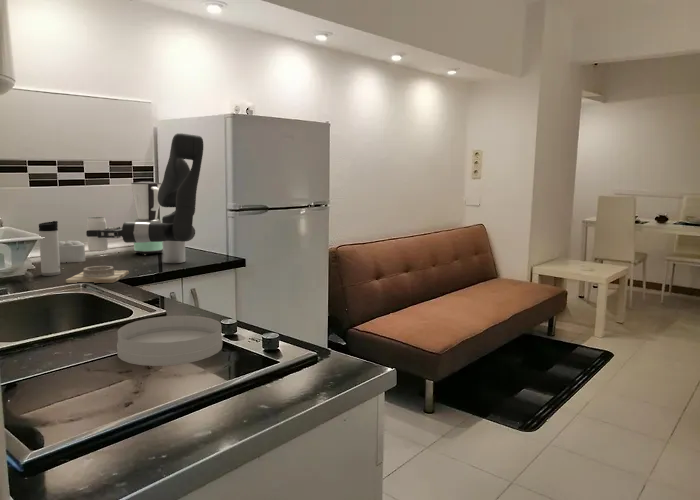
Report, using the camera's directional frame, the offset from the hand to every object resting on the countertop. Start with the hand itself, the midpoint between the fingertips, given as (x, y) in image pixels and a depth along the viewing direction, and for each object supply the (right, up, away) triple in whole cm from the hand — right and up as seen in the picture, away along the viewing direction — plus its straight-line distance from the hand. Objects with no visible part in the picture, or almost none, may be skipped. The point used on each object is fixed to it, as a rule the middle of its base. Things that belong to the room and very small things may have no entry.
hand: (90, 232), depth 196 cm
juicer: (-3, -8, +65) cm, 65 cm away
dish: (+55, -29, -76) cm, 98 cm away
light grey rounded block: (-29, -11, +41) cm, 52 cm away
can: (+2, -7, +1) cm, 7 cm away
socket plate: (+2, -17, +3) cm, 17 cm away
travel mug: (-19, -16, +8) cm, 26 cm away
